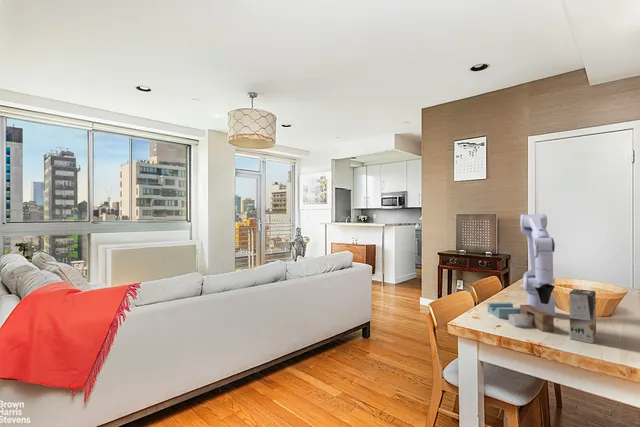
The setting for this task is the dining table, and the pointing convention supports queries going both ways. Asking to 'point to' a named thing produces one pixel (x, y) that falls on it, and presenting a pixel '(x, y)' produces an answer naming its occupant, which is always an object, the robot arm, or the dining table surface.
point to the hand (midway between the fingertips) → (544, 303)
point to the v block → (502, 309)
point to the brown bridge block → (539, 317)
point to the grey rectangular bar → (522, 320)
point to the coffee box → (583, 315)
